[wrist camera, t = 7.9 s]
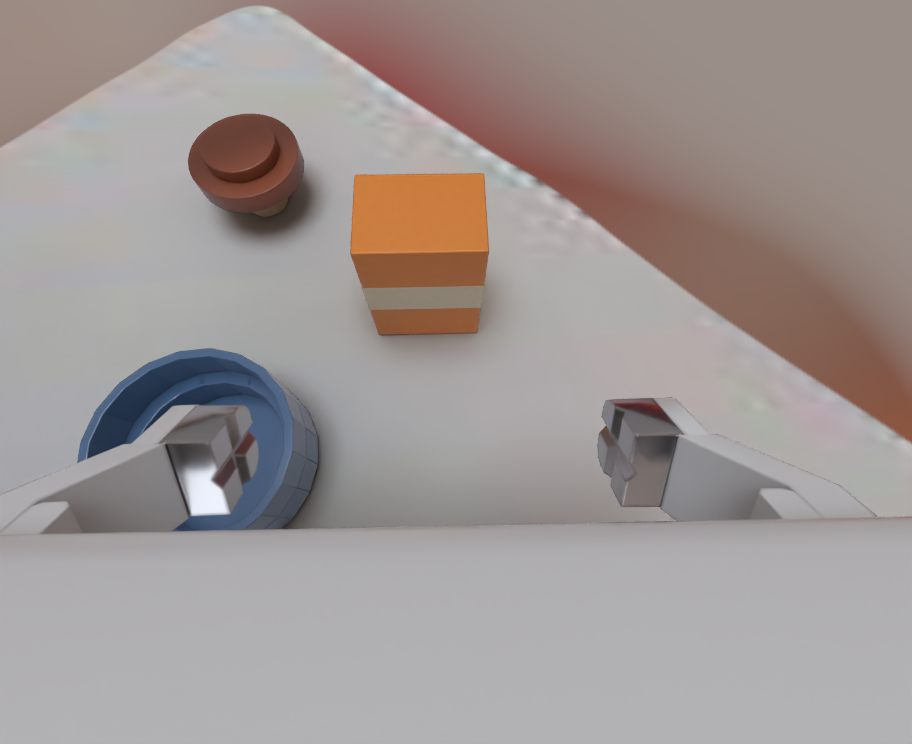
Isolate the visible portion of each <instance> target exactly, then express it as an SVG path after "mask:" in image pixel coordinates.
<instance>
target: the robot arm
mask: <svg viewBox="0 0 912 744" xmlns="http://www.w3.org/2000/svg"><path fill="white" fill-rule="evenodd" d="M602 418H603V420H604V422H605V423H606V426H605V427H604V429H603V430H602V431H601V432H600V433H599V437H598V445H597V446H598V458H599V462H600V466H601V468H602V470H603V472H604V473H605V474H606V475H608V476H610V477H611V478H612V480H611V488H612V490H613V492H614V494H615V496H616V498H617V500H618V502H619V504H620V505H621V507H661V508H660V509H662V510H663V511H664V512H666V513H667V514H668V515H669V516H671V517H672V518H673V519H675V520H676V521H657V522H608V523H559V524H510V525H461V526H412V527H362V528H313V529H263V530H213V531H173V530H174V529H175V528H177V527H178V526H179V525H181V524H182V523H183V522H185V521H186V520H187V519H189V516H204V515H225V514H231V512H232V511H233V509H234V507H235V506H236V504H237V502H238V501H239V499H240V498H241V496H242V494H243V490H242V486H241V485H243V484H245V483H246V482H248V481H250V480H251V479H252V477H253V476H254V474H255V472H256V470H257V465H258V460H259V448H258V443H257V439H256V438H255V437H254V436H253V435H252V434H251V433H250V432H249V431H248V429H249V428H250V426H251V424H252V423H253V422H252V418H251V414H250V411H249V409H248V408H247V407H246V406H245V405H198V404H197V405H177V406H172V407H171V408H170V409H169V410H168V411H167V412H166V413H165V414H163V415H162V416H161V417H160V418H159V419H158V420H157V421H156V422H155V423H154V424H152V425H151V426H150V427H149V428H148V429H147V430H146V431H145V432H144V433H143V434H141V435H140V436H139V437H138V438H137V439H136V440H135V441H134V442H133V443H131V444H123V445H120V446H118V447H115V448H113V449H110V450H108V451H105V452H103V453H101V454H98V455H96V456H93V457H91V458H88V459H86V460H83V461H81V462H79V463H76V464H74V465H71V466H69V467H66V468H64V469H62V470H59V471H57V472H54V473H52V474H49V475H47V476H44V477H42V478H40V479H37V480H35V481H32V482H30V483H27V484H25V485H22V486H20V487H18V488H15V489H13V490H10V491H8V492H5V493H3V494H0V744H912V516H911V517H878V516H876V515H875V514H874V513H873V512H872V511H870V510H869V509H868V508H867V507H866V506H864V505H863V504H862V503H861V502H860V501H858V500H857V499H856V498H855V497H854V496H852V495H851V494H850V493H849V492H848V491H846V490H845V489H844V488H843V487H842V486H840V485H838V484H836V483H833V482H831V481H828V480H826V479H824V478H821V477H819V476H816V475H814V474H812V473H809V472H807V471H804V470H802V469H800V468H797V467H795V466H792V465H790V464H788V463H785V462H783V461H780V460H778V459H776V458H773V457H771V456H769V455H766V454H764V453H761V452H759V451H757V450H754V449H752V448H749V447H747V446H745V445H742V444H740V443H737V442H735V441H733V440H730V439H728V438H725V437H723V436H721V435H718V434H710V433H709V432H708V431H707V430H706V429H705V428H704V427H703V426H702V425H701V424H700V423H699V422H698V421H697V420H696V419H695V418H694V417H693V416H692V415H691V414H690V413H689V412H688V410H687V409H686V408H685V407H684V406H683V405H682V404H681V403H680V402H679V401H678V400H677V399H675V398H672V397H666V398H640V399H615V400H606V401H605V404H604V406H603V411H602Z"/></svg>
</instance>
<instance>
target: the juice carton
mask: <svg viewBox="0 0 912 744" xmlns="http://www.w3.org/2000/svg"><path fill="white" fill-rule="evenodd" d="M350 254H351V257H352V260H353V262H354V265H355V268H356V271H357V274H358V277H359V279H360V282H361V285H362V290H363V293H364V295H365V298H366V301H367V304H368V307H369V309H370V311H371V313H372V316H373V319H374V322H375V325H376V328H377V330H378V333H379V335H391V334H438V333H476V332H477V330H478V323H479V316H480V310H481V306H482V299H483V293H484V286H485V285H484V282H485V275H486V268H487V262H488V255H489V243H488V227H487V211H486V196H485V180H484V174H483V173H474V174H393V175H355V177H354V195H353V213H352V232H351V250H350Z"/></svg>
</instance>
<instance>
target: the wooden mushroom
mask: <svg viewBox="0 0 912 744" xmlns="http://www.w3.org/2000/svg"><path fill="white" fill-rule="evenodd" d="M188 165H189V171H190V174H191V176H192V178H193V180H194V181H195V182H196V184H197V185H198V186H199V188H200V189H201V191H202V192H203V193H204V195H205V196H206V197H207V198H208V199H209V200H210V201H211V202H212V203H213V204H215V205H216V206H218V207H220V208H222V209H225V210H228V211H233V212H240V213H250V212H253V213H254V214H256V215H259V216H273V215H276V214H278V213H279V212H281V211H282V210H283V209H284V208H285V207H286V205H287V203H288V199H289V196H290V195H291V194H292V193H293V192H294V191H295V189H296V188H297V187H298V185H299V183H300V181H301V179H302V176H303V172H304V160H303V156H302V153H301V151H300V148H299V146H298V143H297V140H296V138H295V136H294V134H293V133H292V131H291V130H290V129H289V128H288V127H287V126H286V125H285V124H283V123H282V122H280V121H279V120H277V119H274V118H272V117H269V116H265V115H260V114H240V115H235V116H231V117H227V118H224V119H222V120H220V121H218V122H216V123H214V124H212V125H211V126H209V127H208V128H207V129H206V130H204V131H203V132H202V133H201V134H200V135H199V136H198V138H197V139H196V140H195V142H194V143H193V145H192V147H191V150H190V153H189V157H188Z"/></svg>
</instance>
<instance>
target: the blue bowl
mask: <svg viewBox="0 0 912 744" xmlns="http://www.w3.org/2000/svg"><path fill="white" fill-rule="evenodd" d="M197 404H198V405H245V406H246V407H247V408H248V409H249V411H250V414H251V418H252V422H253V423H252V424H251V426H250V428H249V429H248V431H249V432H250V433H251V434H252V435H253V436H254V437H255V438H256V439H257V443H258V448H259V460H258V465H257V470H256V472H255V474H254V476H253V477H252V479H251V480H250V481H248V482H246V483H245V484H243V485H241V486H242V490H243V494H242V496H241V498H240V499H239V501H238V502H237V504H236V506H235V507H234V509H233V511H232V512H231V514H225V515H204V516H189V519H187V520H186V521H185V522H183V523H182V524H181V525H179V526H178V527H177V528H175V529H174V530H173V531H213V530H263V529H281V528H282V527H283V526H284V525H285V524H286V523H288V522H289V521H290V520H291V519H292V518H293V517H294V516H295V514H296V513H297V511H298V509H299V508H300V506H301V505H302V503H303V502H304V500H305V499H306V497H307V496H308V494H309V491H310V489H311V485H312V482H313V479H314V475H315V472H316V469H317V464H318V438H317V433H316V431H315V428H314V425H313V422H312V420H311V417H310V414H309V413H308V411H307V410H306V408H305V407H304V406H303V405H302V404H301V402H300V401H299V400H298V399H297V398H296V396H295V395H294V394H293V393H292V392H291V391H289V390H288V389H287V388H286V387H285V386H284V385H283V384H281V383H280V382H279V381H278V380H277V379H276V378H275V377H274V376H272V375H271V374H270V373H269V372H268V371H267V370H266V369H264V368H263V367H261V366H260V365H258V364H256V363H254V362H253V361H251V360H249V359H247V358H246V357H244V356H242V355H240V354H237V353H232V352H226V351H221V350H216V349H209V348H208V349H198V350H188V351H179V352H176V353H173V354H170V355H168V356H165V357H163V358H160V359H157V360H155V361H152V362H149V363H148V364H145V365H144V366H143V367H141V368H140V369H138V370H137V371H136V372H134V373H133V374H131V375H130V376H128V377H127V378H126V379H124V380H123V381H121V382H120V383H119V384H118V385H117V386H116V387H115V388H114V389H113V391H112V392H111V393H110V394H109V395H108V396H107V398H106V399H105V400H104V401H103V402H102V403H101V405H100V406H99V407H98V408H97V409H96V411H95V413H94V415H93V417H92V419H91V421H90V423H89V425H88V427H87V429H86V431H85V433H84V436H83V438H82V440H81V443H80V448H79V455H78V461H77V463H79V462H81V461H83V460H86V459H88V458H91V457H93V456H96V455H98V454H101V453H103V452H105V451H108V450H110V449H113V448H115V447H118V446H120V445H123V444H131V443H133V442H134V441H135V440H136V439H137V438H138V437H139V436H140V435H141V434H143V433H144V432H145V431H146V430H147V429H148V428H149V427H150V426H151V425H152V424H154V423H155V422H156V421H157V420H158V419H159V418H160V417H161V416H162V415H163V414H165V413H166V412H167V411H168V410H169V409H170V408H171V407H172V406H177V405H197Z"/></svg>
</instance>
